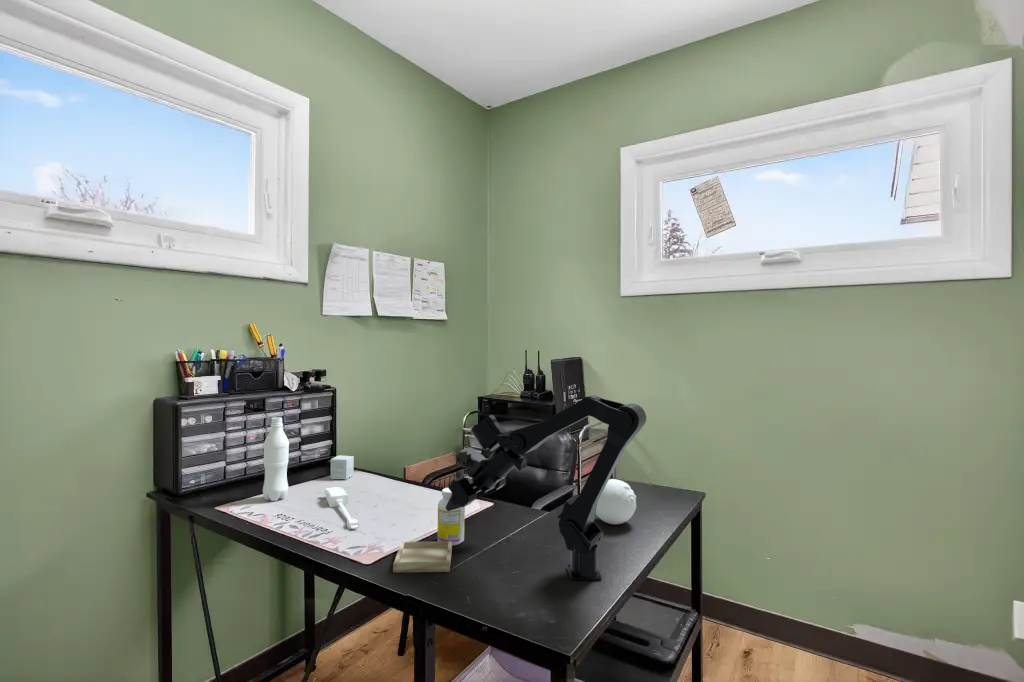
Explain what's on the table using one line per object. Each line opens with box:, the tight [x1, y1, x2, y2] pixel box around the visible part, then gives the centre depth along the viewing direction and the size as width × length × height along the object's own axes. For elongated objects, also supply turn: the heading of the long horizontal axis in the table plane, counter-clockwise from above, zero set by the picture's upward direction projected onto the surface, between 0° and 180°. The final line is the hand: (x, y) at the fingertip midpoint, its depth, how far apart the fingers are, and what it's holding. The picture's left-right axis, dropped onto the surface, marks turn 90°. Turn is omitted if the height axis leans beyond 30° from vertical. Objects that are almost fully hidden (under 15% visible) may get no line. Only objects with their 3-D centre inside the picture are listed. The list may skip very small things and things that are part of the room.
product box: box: [330, 454, 355, 480], centre depth 180 cm, size 6×6×7 cm
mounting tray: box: [392, 540, 453, 573], centre depth 114 cm, size 12×12×2 cm
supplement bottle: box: [437, 487, 466, 547], centre depth 125 cm, size 7×7×13 cm
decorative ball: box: [596, 478, 637, 525], centre depth 140 cm, size 12×12×12 cm
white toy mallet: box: [324, 486, 360, 530], centre depth 145 cm, size 5×32×3 cm, turn 30°
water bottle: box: [262, 416, 290, 502], centre depth 155 cm, size 7×7×25 cm
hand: (457, 503), depth 124 cm, fingers open, 9 cm apart
